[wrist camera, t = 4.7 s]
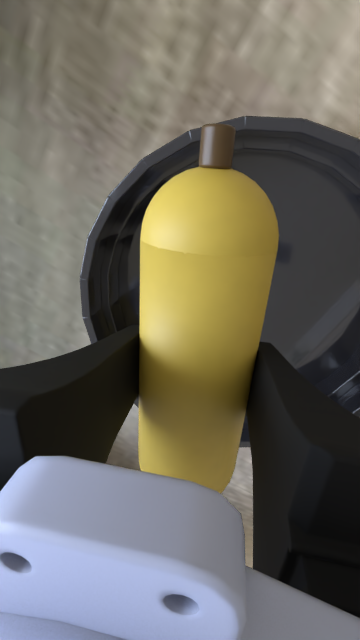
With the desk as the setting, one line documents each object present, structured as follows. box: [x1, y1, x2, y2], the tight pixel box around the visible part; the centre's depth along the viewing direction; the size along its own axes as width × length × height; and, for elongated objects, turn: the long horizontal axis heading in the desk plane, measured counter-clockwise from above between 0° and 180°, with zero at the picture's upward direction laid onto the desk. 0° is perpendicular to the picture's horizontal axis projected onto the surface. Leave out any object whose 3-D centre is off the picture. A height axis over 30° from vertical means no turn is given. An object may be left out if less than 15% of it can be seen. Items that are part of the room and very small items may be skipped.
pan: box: [80, 116, 360, 447], centre depth 18 cm, size 18×18×4 cm
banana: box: [138, 123, 279, 494], centre depth 11 cm, size 14×4×4 cm, turn 176°
